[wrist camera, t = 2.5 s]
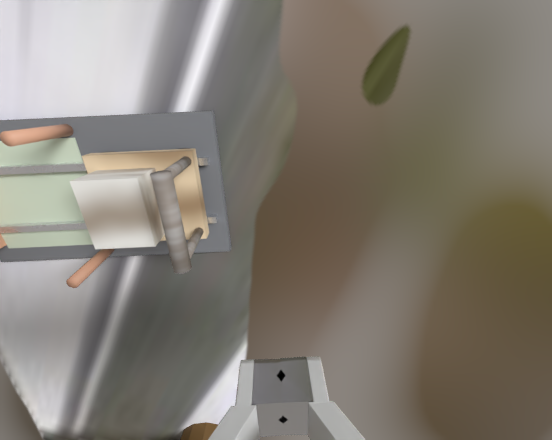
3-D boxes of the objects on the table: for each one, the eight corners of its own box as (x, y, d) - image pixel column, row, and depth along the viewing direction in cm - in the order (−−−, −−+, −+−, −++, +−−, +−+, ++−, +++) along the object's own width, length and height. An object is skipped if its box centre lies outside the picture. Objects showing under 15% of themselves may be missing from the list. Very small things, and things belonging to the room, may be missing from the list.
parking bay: (-69, 130, 28) (-170, 139, 21) (71, 123, 28) (12, 130, 21) (2, 257, 34) (-59, 294, 28) (115, 252, 34) (80, 287, 28)
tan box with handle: (95, 151, 29) (17, 175, 20) (198, 146, 29) (166, 168, 20) (122, 233, 33) (67, 283, 24) (211, 229, 33) (189, 277, 24)
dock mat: (-66, 123, 28) (-77, 124, 27) (213, 110, 28) (212, 111, 28) (8, 257, 35) (1, 261, 34) (231, 247, 35) (230, 251, 35)
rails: (-43, 167, 29) (-53, 169, 28) (208, 156, 29) (207, 157, 29) (-9, 230, 33) (-17, 233, 32) (218, 219, 33) (216, 223, 32)
